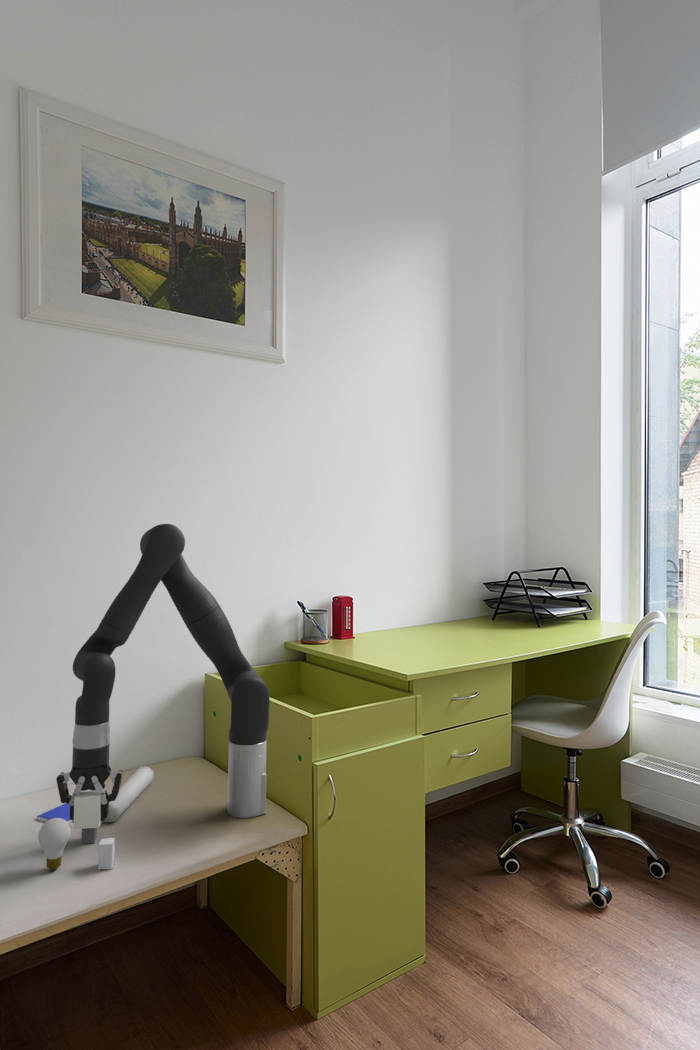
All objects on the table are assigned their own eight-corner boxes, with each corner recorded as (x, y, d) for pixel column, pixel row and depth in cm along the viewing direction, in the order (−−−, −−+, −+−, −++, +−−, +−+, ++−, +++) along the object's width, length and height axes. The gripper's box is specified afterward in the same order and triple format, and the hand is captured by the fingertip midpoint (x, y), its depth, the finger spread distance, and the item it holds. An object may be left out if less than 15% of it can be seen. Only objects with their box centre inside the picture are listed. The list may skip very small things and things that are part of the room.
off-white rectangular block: (104, 817, 145) (105, 787, 145) (98, 827, 140) (99, 796, 140) (79, 818, 144) (80, 788, 144) (73, 828, 139) (74, 797, 139)
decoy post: (114, 862, 132) (114, 838, 133) (111, 869, 130) (112, 843, 130) (100, 863, 132) (101, 838, 132) (98, 870, 129) (98, 844, 130)
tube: (121, 808, 150) (157, 770, 175) (99, 800, 150) (138, 763, 175) (113, 830, 150) (150, 788, 175) (92, 822, 150) (132, 781, 175)
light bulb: (75, 869, 130) (76, 818, 130) (45, 880, 125) (46, 828, 125) (61, 859, 133) (63, 810, 134) (32, 869, 129) (33, 819, 129)
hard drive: (78, 796, 164) (36, 815, 152) (102, 802, 160) (61, 821, 149) (78, 802, 164) (36, 821, 152) (102, 808, 160) (61, 828, 149)
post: (96, 838, 143) (97, 806, 143) (94, 843, 141) (94, 810, 141) (84, 838, 143) (85, 806, 143) (81, 844, 140) (82, 811, 140)
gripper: (128, 736, 147) (126, 812, 147) (61, 738, 145) (59, 814, 145) (122, 746, 140) (119, 826, 139) (51, 748, 138) (49, 829, 137)
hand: (89, 820), depth 142 cm, fingers closed on off-white rectangular block, 5 cm apart
